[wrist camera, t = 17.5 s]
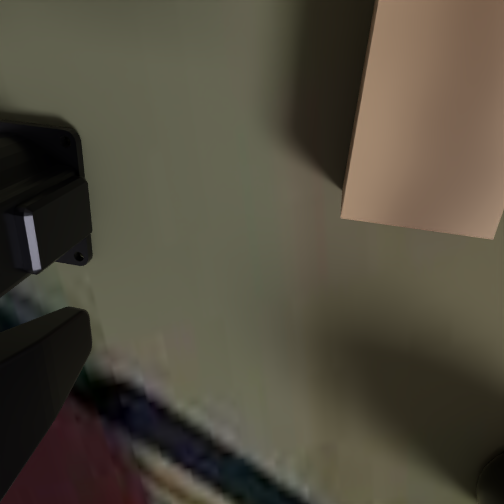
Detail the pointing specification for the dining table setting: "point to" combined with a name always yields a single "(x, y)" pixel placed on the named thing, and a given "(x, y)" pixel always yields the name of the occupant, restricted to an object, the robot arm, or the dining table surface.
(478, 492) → the supplement bottle
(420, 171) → the key box
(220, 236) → the dining table surface
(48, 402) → the robot arm
